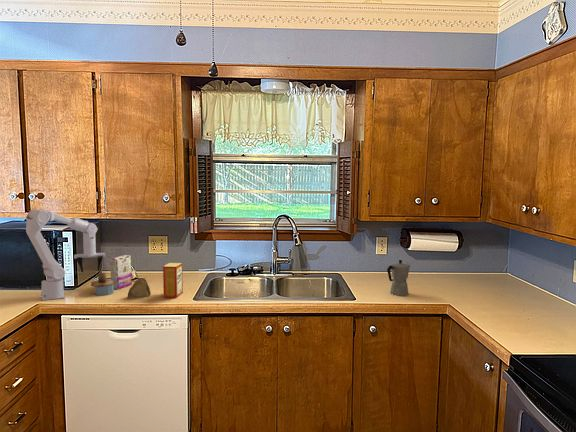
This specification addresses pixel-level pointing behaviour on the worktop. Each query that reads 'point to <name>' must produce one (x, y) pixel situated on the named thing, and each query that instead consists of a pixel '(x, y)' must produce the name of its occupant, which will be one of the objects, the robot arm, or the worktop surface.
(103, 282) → the walnut lid
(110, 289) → the slate bowl
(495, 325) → the worktop surface
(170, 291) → the baking soda box
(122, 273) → the candy bar box
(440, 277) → the worktop surface
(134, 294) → the rock
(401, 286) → the coffeepot
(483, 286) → the worktop surface
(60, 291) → the robot arm
